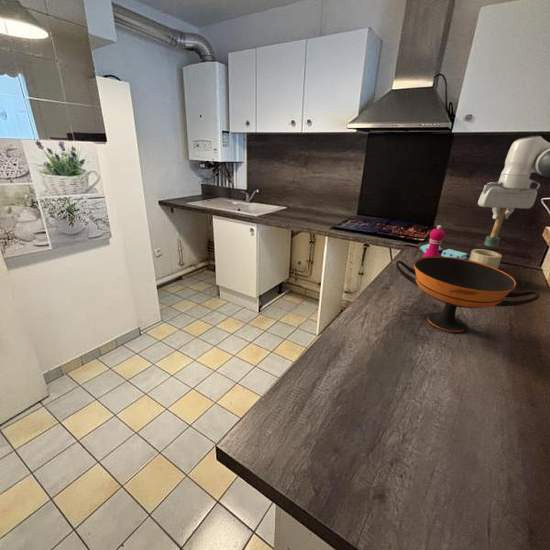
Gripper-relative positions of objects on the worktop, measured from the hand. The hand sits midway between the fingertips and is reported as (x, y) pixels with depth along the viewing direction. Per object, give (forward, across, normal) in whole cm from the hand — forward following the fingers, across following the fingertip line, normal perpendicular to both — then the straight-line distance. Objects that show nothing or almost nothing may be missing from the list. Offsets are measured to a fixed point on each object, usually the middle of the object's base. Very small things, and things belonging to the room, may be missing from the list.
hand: (499, 218), depth 116 cm
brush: (+11, 0, 0) cm, 11 cm away
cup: (+26, -37, -37) cm, 58 cm away
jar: (+26, 0, 0) cm, 26 cm away
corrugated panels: (+26, +4, +23) cm, 35 cm away
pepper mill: (+26, -17, +10) cm, 33 cm away
